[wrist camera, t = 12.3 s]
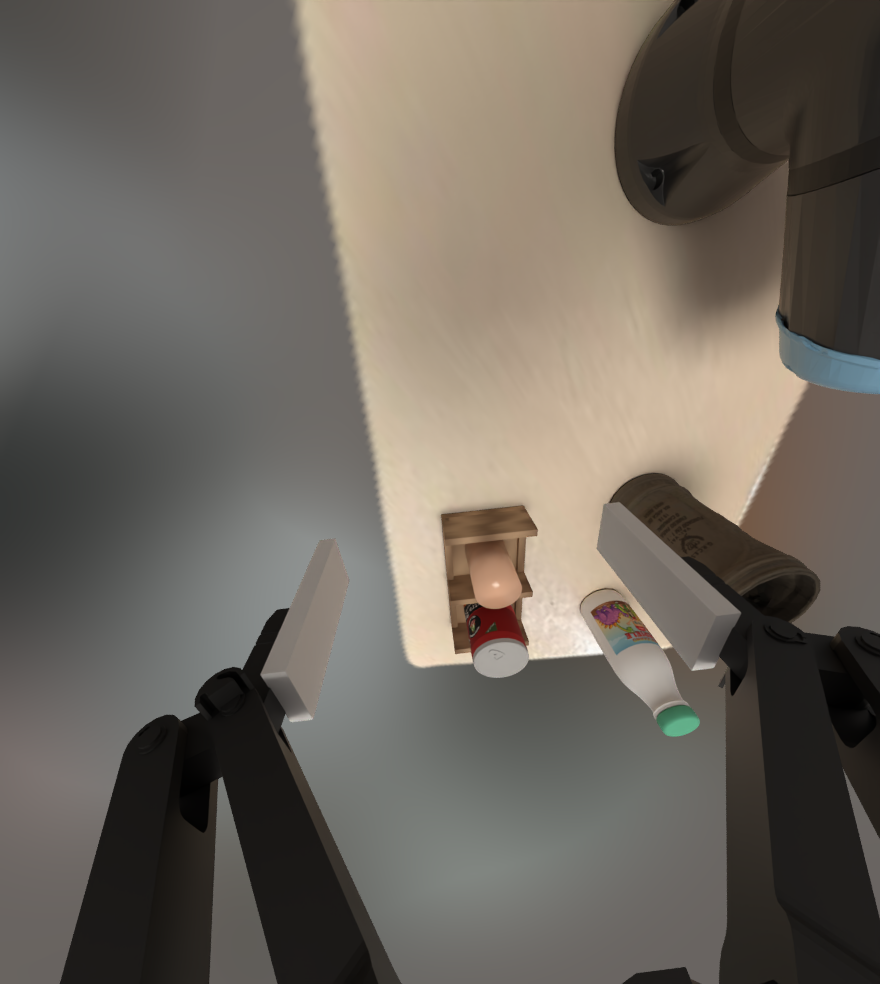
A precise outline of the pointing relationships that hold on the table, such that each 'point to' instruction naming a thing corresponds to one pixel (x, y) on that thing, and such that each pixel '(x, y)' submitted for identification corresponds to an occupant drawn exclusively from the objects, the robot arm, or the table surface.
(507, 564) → the peach rounded block
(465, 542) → the rack
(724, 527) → the beer stein
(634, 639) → the milk bottle
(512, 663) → the canned food
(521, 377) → the table surface
